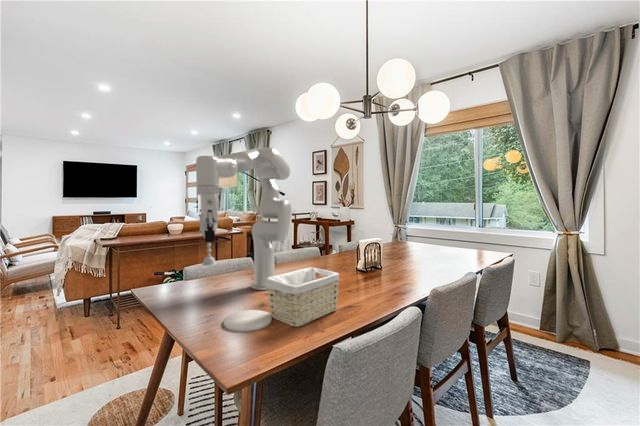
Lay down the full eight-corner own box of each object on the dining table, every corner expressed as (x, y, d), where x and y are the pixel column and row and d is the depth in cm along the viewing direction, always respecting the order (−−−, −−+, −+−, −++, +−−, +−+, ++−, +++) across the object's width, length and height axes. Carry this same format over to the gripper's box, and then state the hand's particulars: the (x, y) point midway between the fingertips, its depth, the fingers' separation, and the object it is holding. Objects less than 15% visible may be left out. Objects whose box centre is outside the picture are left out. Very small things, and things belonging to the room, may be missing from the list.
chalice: (203, 261, 115) (202, 213, 114) (221, 261, 116) (220, 213, 115) (196, 266, 108) (195, 215, 107) (215, 266, 108) (214, 215, 107)
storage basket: (295, 330, 100) (295, 285, 99) (264, 317, 111) (264, 277, 110) (341, 311, 117) (341, 272, 117) (310, 301, 128) (310, 266, 128)
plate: (263, 310, 117) (263, 307, 117) (278, 325, 103) (278, 322, 103) (219, 317, 110) (219, 314, 110) (229, 335, 96) (229, 332, 96)
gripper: (222, 190, 104) (223, 243, 105) (216, 191, 120) (216, 237, 121) (198, 190, 101) (199, 245, 102) (195, 191, 117) (196, 238, 118)
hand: (208, 240), depth 111 cm, fingers closed on chalice, 6 cm apart
